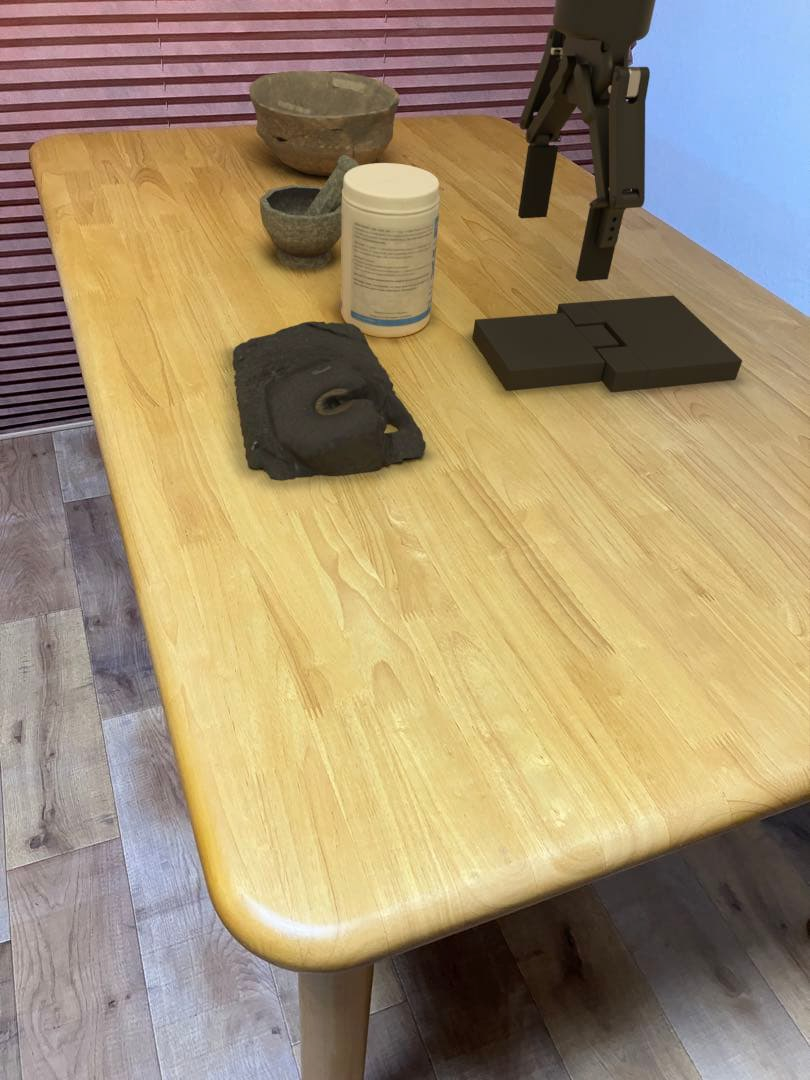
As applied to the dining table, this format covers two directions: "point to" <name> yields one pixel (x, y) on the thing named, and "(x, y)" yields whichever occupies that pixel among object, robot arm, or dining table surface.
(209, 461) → the dining table surface
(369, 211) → the supplement tub
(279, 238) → the mortar and pestle
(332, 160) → the bowl
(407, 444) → the dark slate chunk
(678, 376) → the base pad
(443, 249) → the dining table surface
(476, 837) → the dining table surface
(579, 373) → the small pad
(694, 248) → the dining table surface
